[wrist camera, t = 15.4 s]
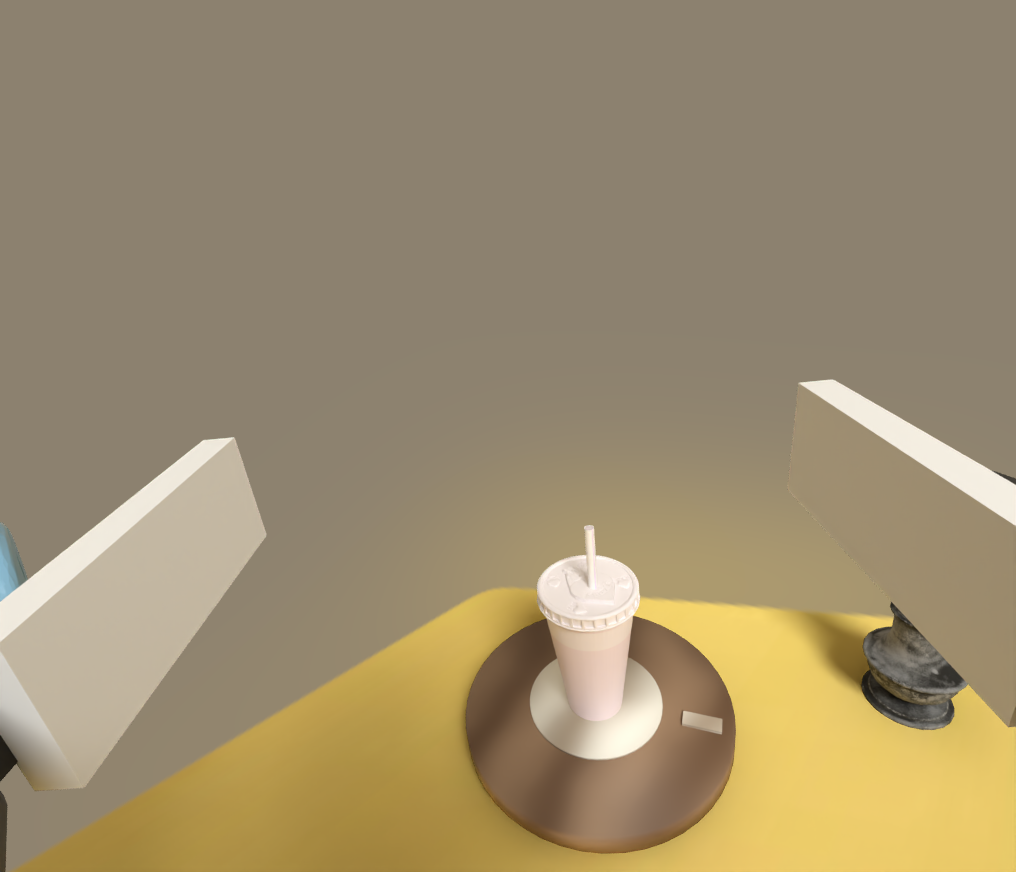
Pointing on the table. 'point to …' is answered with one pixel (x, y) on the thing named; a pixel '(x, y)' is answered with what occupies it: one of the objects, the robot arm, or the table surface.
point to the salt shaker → (909, 676)
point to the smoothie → (590, 627)
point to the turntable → (602, 743)
